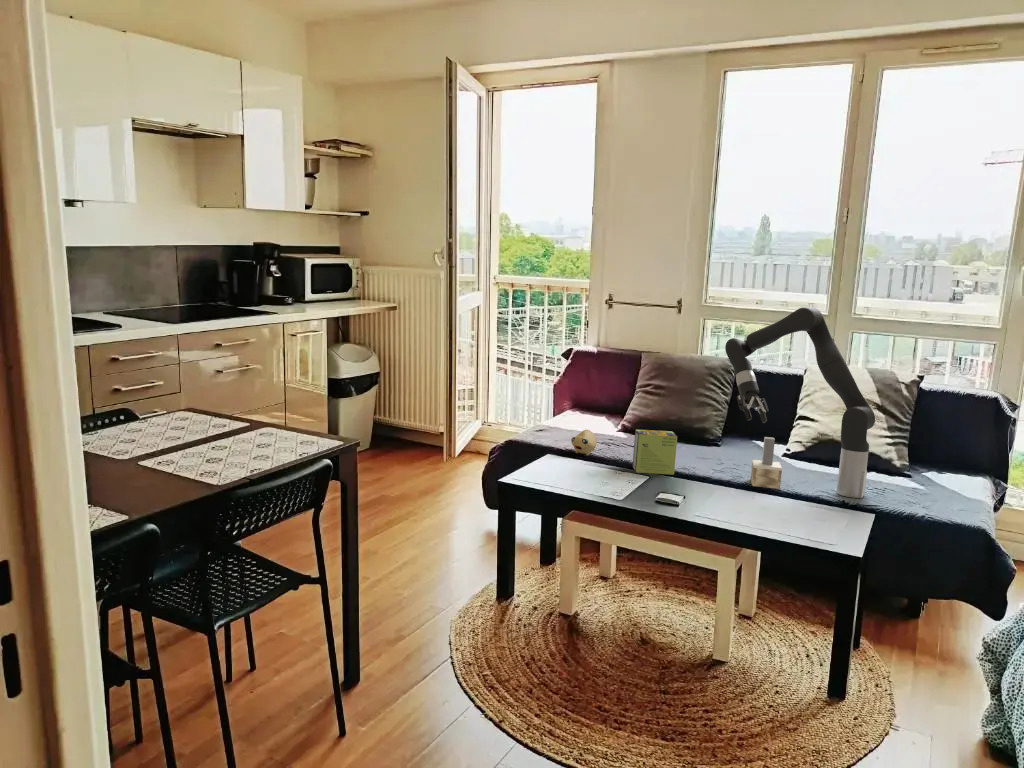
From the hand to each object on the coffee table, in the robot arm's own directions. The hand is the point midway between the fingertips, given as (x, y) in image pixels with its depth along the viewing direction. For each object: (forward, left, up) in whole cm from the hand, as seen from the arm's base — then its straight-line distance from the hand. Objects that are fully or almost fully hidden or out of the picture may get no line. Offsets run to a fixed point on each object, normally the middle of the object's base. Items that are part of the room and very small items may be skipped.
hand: (757, 420), depth 302 cm
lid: (-7, +7, -17) cm, 20 cm away
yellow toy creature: (+68, +15, -23) cm, 73 cm away
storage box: (-7, +7, -23) cm, 25 cm away
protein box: (+34, +19, -23) cm, 45 cm away
